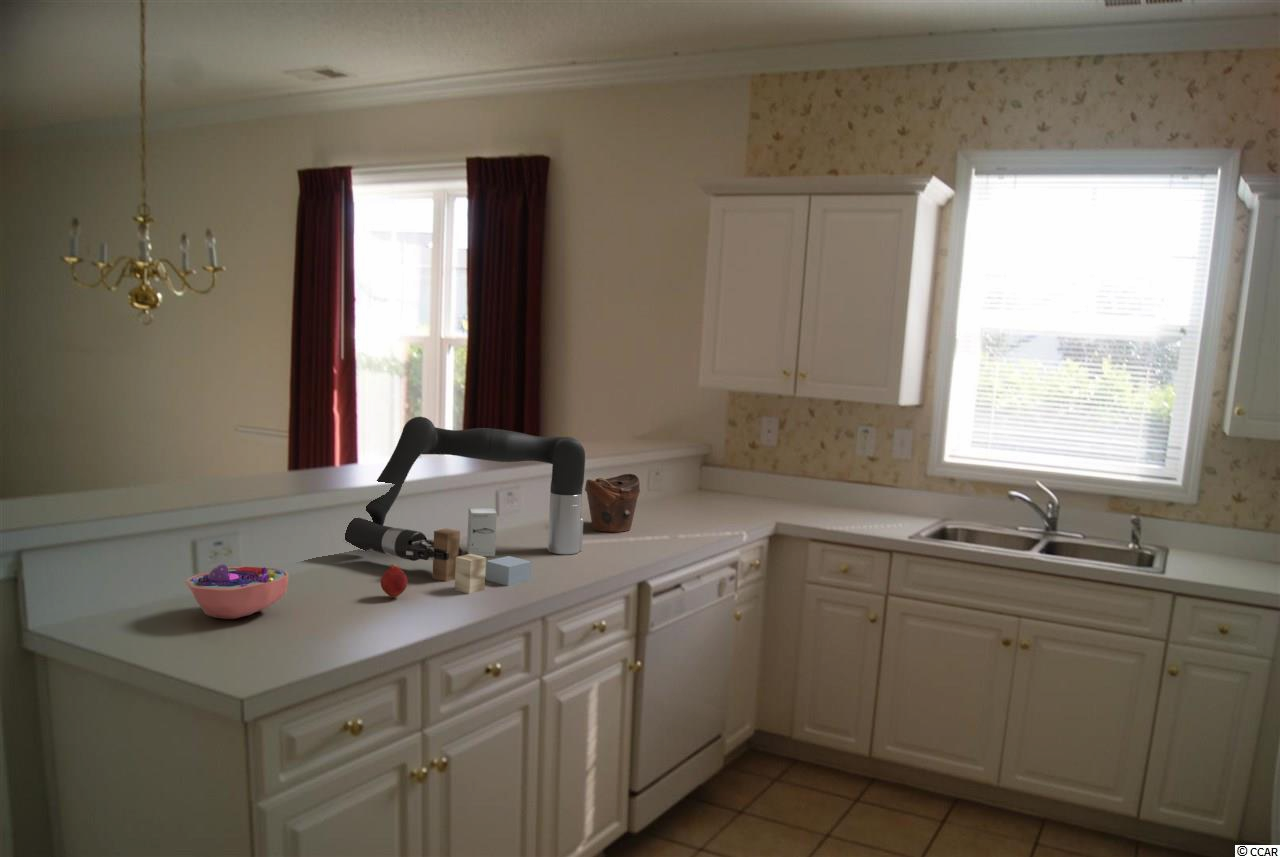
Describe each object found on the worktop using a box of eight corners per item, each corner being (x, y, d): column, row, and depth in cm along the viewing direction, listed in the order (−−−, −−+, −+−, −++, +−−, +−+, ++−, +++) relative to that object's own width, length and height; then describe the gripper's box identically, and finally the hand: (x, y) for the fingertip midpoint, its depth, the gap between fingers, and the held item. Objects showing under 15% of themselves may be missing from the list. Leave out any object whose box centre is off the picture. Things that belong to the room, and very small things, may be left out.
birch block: (469, 585, 214) (471, 553, 214) (484, 589, 212) (485, 557, 211) (454, 589, 210) (455, 557, 210) (469, 593, 208) (470, 560, 207)
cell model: (302, 617, 184) (303, 564, 183) (200, 635, 170) (201, 578, 169) (271, 598, 196) (272, 548, 195) (174, 613, 182) (174, 559, 181)
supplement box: (468, 557, 242) (470, 512, 241) (466, 551, 249) (468, 507, 248) (495, 557, 244) (497, 512, 243) (492, 550, 251) (494, 507, 250)
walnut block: (444, 574, 223) (446, 528, 222) (458, 577, 221) (460, 531, 220) (432, 578, 219) (434, 531, 218) (446, 581, 217) (447, 533, 216)
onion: (397, 593, 205) (398, 559, 204) (412, 598, 201) (413, 564, 201) (375, 597, 200) (376, 563, 200) (390, 603, 197) (391, 568, 196)
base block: (508, 574, 227) (508, 555, 227) (530, 581, 223) (531, 561, 222) (485, 580, 221) (486, 561, 220) (508, 586, 216) (509, 567, 216)
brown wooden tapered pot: (574, 531, 284) (576, 476, 282) (595, 520, 303) (597, 469, 301) (626, 537, 279) (629, 481, 277) (644, 526, 298) (647, 474, 296)
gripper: (384, 533, 220) (435, 544, 212) (424, 525, 232) (474, 534, 224) (383, 563, 221) (434, 574, 212) (423, 553, 233) (473, 563, 225)
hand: (454, 554), depth 218 cm, fingers closed on walnut block, 4 cm apart
